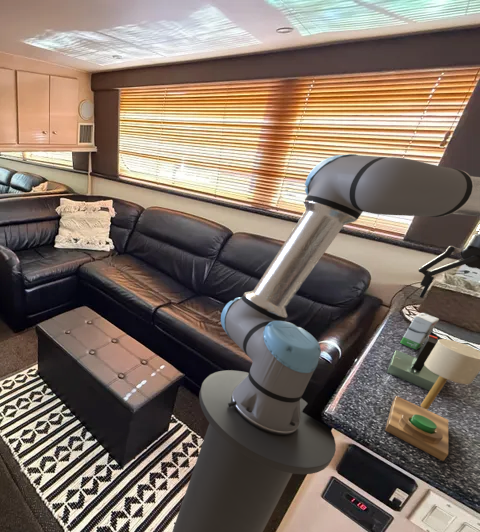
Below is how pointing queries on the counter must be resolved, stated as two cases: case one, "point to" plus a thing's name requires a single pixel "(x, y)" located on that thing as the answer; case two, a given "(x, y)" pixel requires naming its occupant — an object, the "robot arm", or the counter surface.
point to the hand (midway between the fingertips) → (453, 306)
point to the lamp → (451, 366)
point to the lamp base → (408, 432)
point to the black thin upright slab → (424, 352)
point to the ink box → (419, 330)
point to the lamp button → (423, 423)
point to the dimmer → (411, 371)
